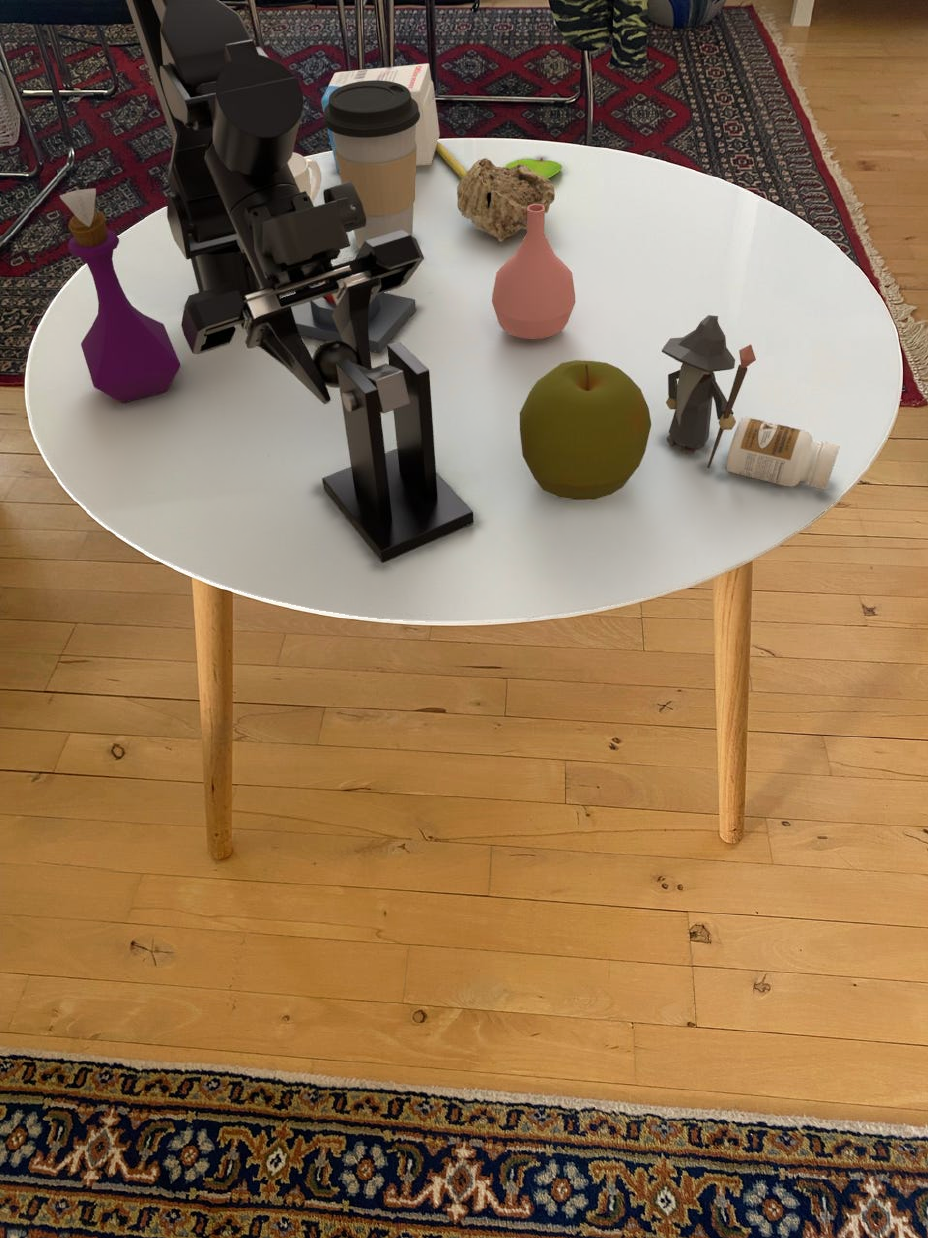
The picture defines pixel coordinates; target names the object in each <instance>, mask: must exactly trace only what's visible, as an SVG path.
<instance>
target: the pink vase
mask: <svg viewBox="0 0 928 1238" xmlns="http://www.w3.org/2000/svg"><path fill="white" fill-rule="evenodd" d="M545 214H546V213H545V207H544V206H543V205H541V204H531V205H529V206H528V207H527V229H526V234H525V236H524V237H523V239H522V241H521V243H520V245H519V246H518V248H517V250H516V252H515V253H514V254H513V255H512V256H511V257H509V259H508V260H507V261H505V262H504V263H503V264H502V266H501V267H500V268H498V270H497V272H496V273H495V279H494V284H493V289H492V297H491V303H492V306H493V309H494V313H495V315H496V318H497V322H498V323H499V326H500V327H501V329H502V330H504V331H505V332H506V333H508V334H509V335H511V336H514V337H518V338H520V339H530V340H534V339H535V340H536V339H546V338H549V337H552V336H555V335H557V334H558V333H560V332H561V331H563V330H564V329H565V328H566V326H567V325H568V322H569V320H570V317H571V315H572V313H573V310H574V307H575V305H576V291H575V284H574V277H573V276H574V275H573V272H572V271H571V269H570V268H569V266H567V265H566V263H564V262H563V261H562V260H561V259H560V258H559V257H558V256H557V255H556V254H555V252H554V250H553V248H552V246H551V244H550V242H549V240H548V238H547V237H546V234H545V217H546V215H545Z"/></svg>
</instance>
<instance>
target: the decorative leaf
mask: <svg viewBox="0 0 928 1238" xmlns="http://www.w3.org/2000/svg"><path fill="white" fill-rule="evenodd" d="M518 164H524V165H525V166H527V167H528V168H530V169H531V170H532V171H533V172H535V173H536V174H537V175H542V176H543V177H545V178H547V179H550V178H552V177H553V176H554V175H556V174H558V173H560V172H561V171H562V169H563V165H562V164H561V163H559V162H557V161H555V160H550V159H549V160H548V159H547V160H544V159H543V157H541V158H540V159H534V158H523V159H517V160H514V161H510V162H509V163H507V164H506V165H505V166H504V167H509V168H512V167H514V166H517V165H518Z"/></svg>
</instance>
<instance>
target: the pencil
mask: <svg viewBox="0 0 928 1238" xmlns="http://www.w3.org/2000/svg"><path fill="white" fill-rule="evenodd" d="M435 152H436V153H437V154H438V155H439V156H440V157H441V158H442V159H443V160H444V161H445V162H446V163H447V165H448V166H449V167H450V168H451V169H452V170H453V171H454V172H455V173H456V175H457V176H458V177H459V178H460V180H461V179H462V178H463V177H464V176H465V174H466V173H467V171H468V170H466V169H465V168H464V167H463V166H462V164H460V163H459V162H458V160H456V158H455V157H454V156H453V155H452V154H451V153H450V152H449V151H448V150H447V149H446V148H445V147H444V146H443V144H442V143H441V142H439V141H438V142H437V146H436V149H435Z"/></svg>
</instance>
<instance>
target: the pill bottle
mask: <svg viewBox="0 0 928 1238" xmlns="http://www.w3.org/2000/svg"><path fill="white" fill-rule="evenodd" d="M840 447H841V446H840V445H839V444H834V443H830V442H827V441H821V442H820V443H818V442H814V441H813V436H812V434H811V432H809V431H807V430H803V429H799V428H794V427H791V426H787V425H782V424H778V423H774V422H770V421H765V420H762V419H761V420H760V419H756V418H751V417H748V416H743V417H741V418H740V419H739V421H738V424H737V426H736V428H735V431H734V434H733V436H732V439H731V442H730V447H729V450H728V454H727V459H726V464H725V469H726V470H727V471H728V472H729V473H732V474H737V475H740V476H745V477H749V478H752V479H757V480H761V481H764V482H769V483H773V484H776V485H781V486H784V487H789V488H792V487H795V486H797V485H798V484H799V483H800V482H807V486H811V487H813V488H817V489H822V490H827V488H828V486H829V482H830V480H831V476H832V473H833V470H834V467H835V464H836V460H837V457H838V454H839V451H840Z"/></svg>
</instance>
